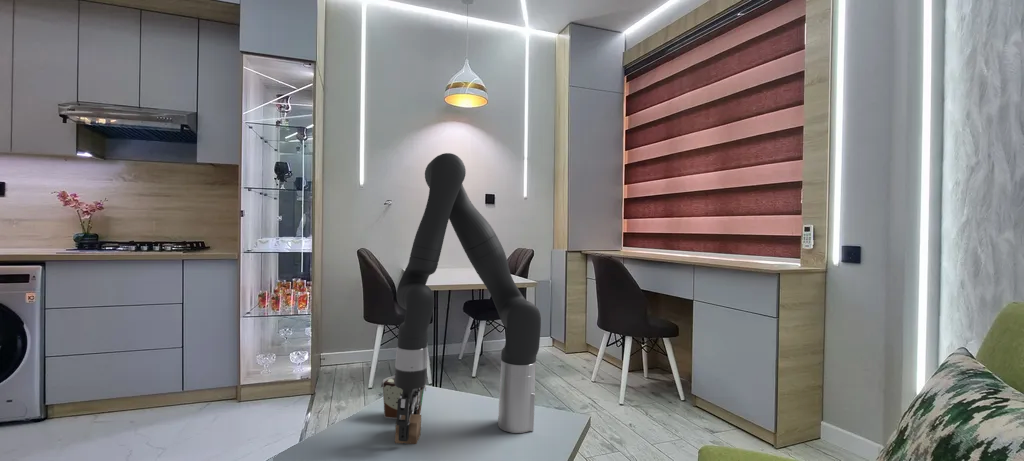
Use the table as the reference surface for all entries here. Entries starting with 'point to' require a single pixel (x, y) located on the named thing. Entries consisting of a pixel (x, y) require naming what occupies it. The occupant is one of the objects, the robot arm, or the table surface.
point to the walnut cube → (411, 430)
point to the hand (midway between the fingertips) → (407, 432)
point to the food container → (394, 397)
